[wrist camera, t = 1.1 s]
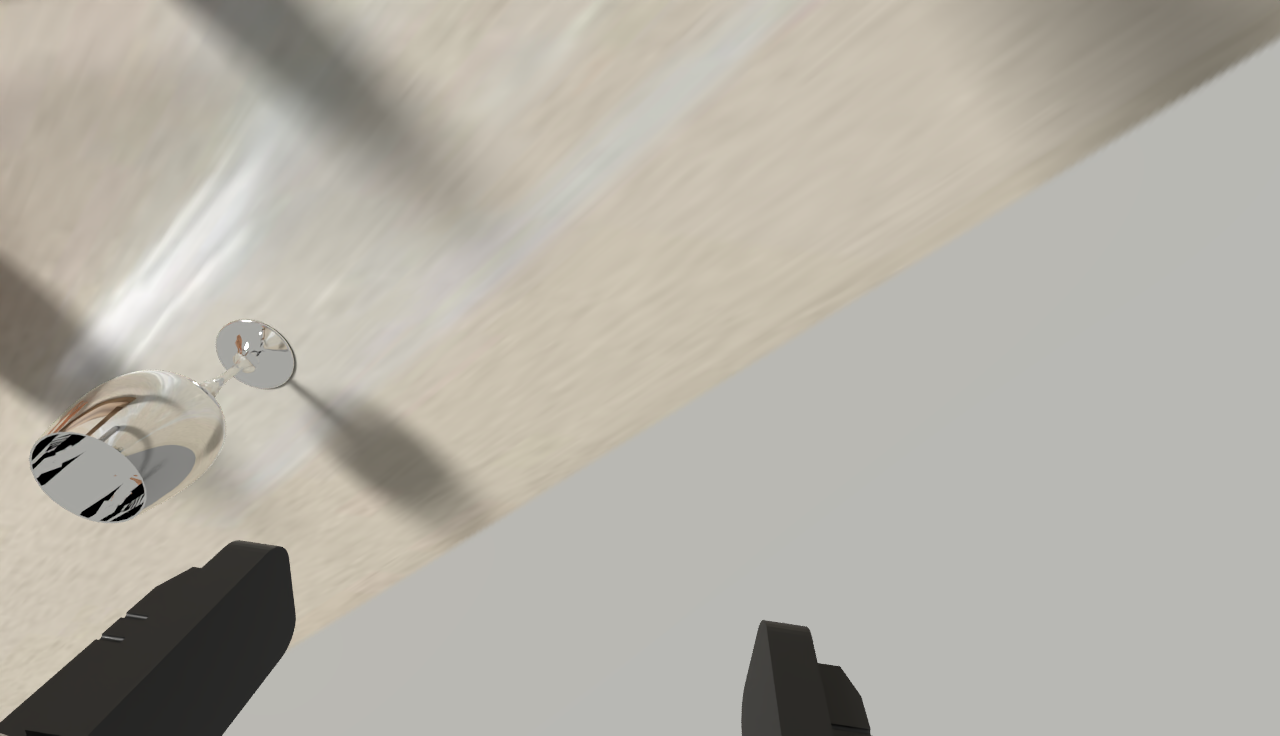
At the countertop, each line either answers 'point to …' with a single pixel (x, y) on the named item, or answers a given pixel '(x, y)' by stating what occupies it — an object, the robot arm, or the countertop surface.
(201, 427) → the wineglass
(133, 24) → the countertop surface
